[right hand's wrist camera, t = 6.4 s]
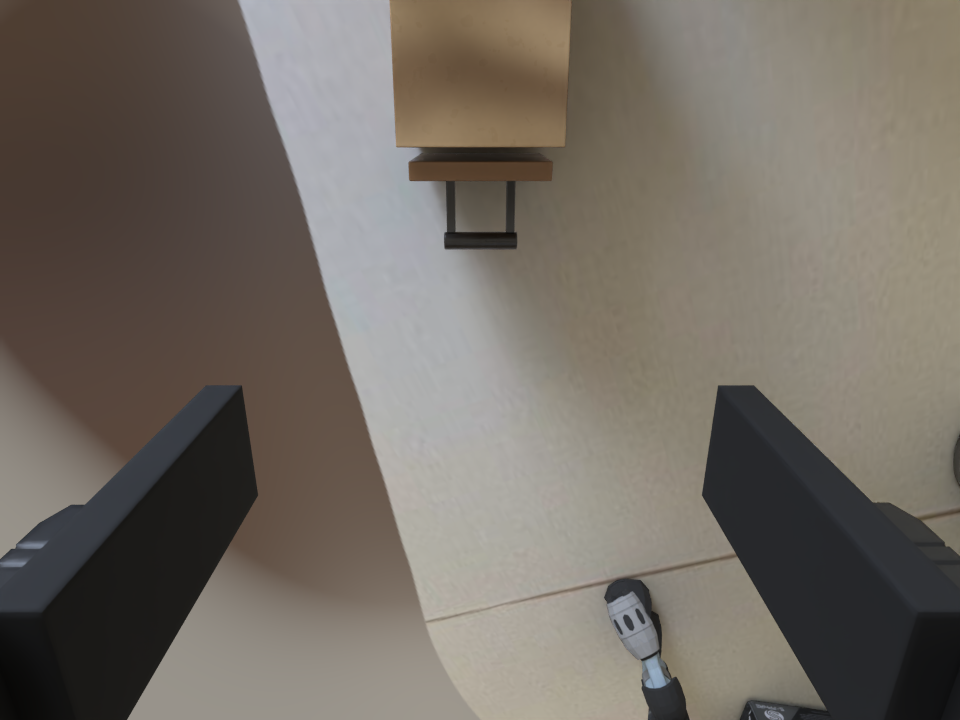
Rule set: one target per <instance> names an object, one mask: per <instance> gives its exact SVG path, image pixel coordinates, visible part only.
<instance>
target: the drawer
mask: <svg viewBox="0 0 960 720" xmlns="http://www.w3.org/2000/svg"><path fill="white" fill-rule="evenodd" d="M552 171H553V162H552V161H550V160H549V159H547V158H546V157H544V156H543V155H541V154H540V153H422V154H420V155H419V156H417V157H416V158H414V159H413V160H411V161H410V162H409V180H410V181H446V199H447V232H445V233H444V247H445V249H517V232H514V219H515V181H552ZM455 181H507V182H506V232H455V231H456V226H455Z"/></svg>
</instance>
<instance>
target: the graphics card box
mask: <svg viewBox="0 0 960 720" xmlns="http://www.w3.org/2000/svg"><path fill="white" fill-rule="evenodd" d="M740 720H833V719H832V717H831V715H830V714H829V712H828V711H823V710H815V709H809V708H801V707H794V706H788V705H780V704H774V703H766V702H759V701H749V702H747V704H746V706H745V709H744V711H743V714H742V716H741V718H740Z"/></svg>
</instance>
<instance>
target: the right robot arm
mask: <svg viewBox="0 0 960 720" xmlns="http://www.w3.org/2000/svg"><path fill="white" fill-rule="evenodd" d="M954 471H955V475H956V478H957V481H958V483H959V485H960V436H959V438H958V441H957V444H956V447H955V453H954ZM257 496H258V492H257V485H256V478H255V472H254V465H253V458H252V452H251V445H250V438H249V431H248V425H247V418H246V411H245V404H244V398H243V391H242V386H205V387H204V388H203V389H202V390H201V391H200V392H199V393H198V394H197V395H196V396H195V397H194V398H193V399H192V400H191V401H190V402H189V403H188V404H187V405H186V406H185V407H184V408H183V409H182V410H181V411H180V412H179V413H178V414H177V415H176V416H175V417H174V418H173V419H172V420H171V421H170V422H169V423H168V424H167V425H166V426H165V427H164V428H163V429H161V431H159V432H158V433H157V434H156V435H155V436H154V437H153V438H152V439H151V440H150V441H149V442H148V443H147V444H146V445H145V446H144V447H143V448H142V449H141V450H140V451H139V452H138V453H137V454H136V455H135V456H134V457H133V458H132V459H131V460H130V461H129V462H128V463H127V464H126V465H125V466H124V467H123V468H122V469H121V470H120V471H119V472H118V473H117V474H116V475H115V476H114V477H113V478H112V479H111V480H110V481H109V482H108V483H107V484H106V485H105V486H104V487H103V488H102V489H101V490H100V491H99V492H98V493H97V494H96V495H95V496H94V497H93V498H92V499H91V500H90V501H89V502H87V503H86V504H85V505H70V506H68V507H67V508H65V509H63V510H61V511H60V512H58V513H56V514H54V515H53V516H51V517H49V518H47V519H46V520H44V521H42V522H40V523H39V524H38V525H37V526H36V527H35V528H33V529H32V530H31V531H30V532H29V533H28V534H27V535H26V536H25V537H24V538H23V539H22V540H20V541H19V542H18V543H17V544H16V548H15V549H11V550H10V551H9V552H8V553H6V554H5V555H4V556H3V557H2V558H1V559H0V720H127V719H128V717H129V715H130V714H131V712H132V710H133V708H134V707H135V705H136V703H137V702H138V700H139V698H140V696H141V695H142V693H143V691H144V690H145V688H146V686H147V684H148V683H149V681H150V679H151V678H152V676H153V674H154V672H155V671H156V669H157V667H158V666H159V664H160V662H161V661H162V659H163V657H164V655H165V654H166V652H167V650H168V649H169V647H170V645H171V643H172V642H173V640H174V638H175V637H176V635H177V633H178V631H179V630H180V628H181V626H182V625H183V623H184V621H185V619H186V618H187V616H188V614H189V613H190V611H191V609H192V607H193V606H194V604H195V602H196V601H197V599H198V597H199V595H200V594H201V592H202V590H203V589H204V587H205V585H206V583H207V582H208V580H209V578H210V577H211V575H212V573H213V572H214V570H215V568H216V566H217V565H218V563H219V561H220V559H221V558H222V556H223V554H224V553H225V551H226V549H227V548H228V546H229V544H230V542H231V541H232V539H233V537H234V535H235V534H236V532H237V530H238V529H239V527H240V525H241V524H242V522H243V520H244V518H245V517H246V515H247V513H248V512H249V510H250V508H251V506H252V505H253V503H254V501H255V500H256V498H257ZM702 496H703V498H704V500H705V501H706V503H707V505H708V506H709V508H710V510H711V512H712V513H713V515H714V517H715V518H716V520H717V522H718V524H719V525H720V527H721V529H722V530H723V532H724V534H725V536H726V537H727V539H728V541H729V542H730V544H731V546H732V548H733V549H734V551H735V553H736V554H737V556H738V558H739V560H740V561H741V563H742V565H743V566H744V568H745V570H746V572H747V573H748V575H749V577H750V578H751V580H752V582H753V584H754V585H755V587H756V589H757V590H758V592H759V594H760V595H761V597H762V599H763V601H764V602H765V604H766V606H767V607H768V609H769V611H770V613H771V614H772V616H773V618H774V619H775V621H776V623H777V625H778V626H779V628H780V630H781V631H782V633H783V635H784V637H785V638H786V640H787V642H788V643H789V645H790V647H791V649H792V650H793V652H794V654H795V655H796V657H797V659H798V661H799V662H800V664H801V666H802V667H803V669H804V671H805V673H806V674H807V676H808V678H809V679H810V681H811V683H812V685H813V686H814V688H815V690H816V691H817V693H818V695H819V696H820V698H821V700H822V702H823V703H824V705H825V707H826V708H827V710H828V712H829V714H830V715H831V717H832V719H833V720H960V556H959V555H958V554H957V553H956V552H955V551H953V550H952V549H951V548H950V547H945V542H944V541H943V540H941V539H940V538H939V537H938V536H937V535H936V534H935V533H934V532H933V531H932V530H931V529H930V528H928V527H927V526H926V525H925V524H924V523H923V522H922V521H921V520H919V519H917V518H915V517H913V516H912V515H910V514H908V513H906V512H905V511H903V510H901V509H899V508H898V507H896V506H894V505H892V504H891V503H873V502H871V501H870V500H869V499H868V498H867V497H866V496H865V495H864V494H863V493H862V492H861V491H860V490H859V489H858V488H857V487H856V486H855V485H854V484H853V483H852V482H851V481H850V480H849V479H848V478H847V477H846V476H845V475H844V474H843V473H842V472H841V471H840V470H839V469H838V468H837V467H836V466H835V465H834V464H833V463H832V462H831V461H830V460H829V459H828V458H827V457H826V456H825V455H824V454H823V453H822V452H821V451H820V450H819V449H818V448H817V447H816V446H815V445H814V444H813V443H812V442H811V441H810V440H809V439H808V438H807V437H806V436H805V435H804V434H803V433H802V432H801V431H800V430H798V429H797V428H796V427H795V426H794V425H793V424H792V423H791V422H790V421H789V420H788V419H787V418H786V417H785V416H784V415H783V414H782V413H781V412H780V411H779V410H778V409H777V408H776V407H775V406H774V405H773V404H772V403H771V402H770V401H769V400H768V399H767V398H766V397H765V396H764V395H763V394H762V393H761V392H760V391H759V390H758V389H757V388H756V387H755V386H718V391H717V397H716V404H715V411H714V418H713V424H712V431H711V438H710V445H709V451H708V458H707V465H706V472H705V478H704V485H703V492H702Z"/></svg>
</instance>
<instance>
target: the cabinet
mask: <svg viewBox="0 0 960 720" xmlns="http://www.w3.org/2000/svg"><path fill="white" fill-rule="evenodd" d="M571 9H572V0H390V21H391V43H392V64H393V86H394V108H395V130H396V147H565V140H566V118H567V96H568V74H569V53H570V31H571Z"/></svg>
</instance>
